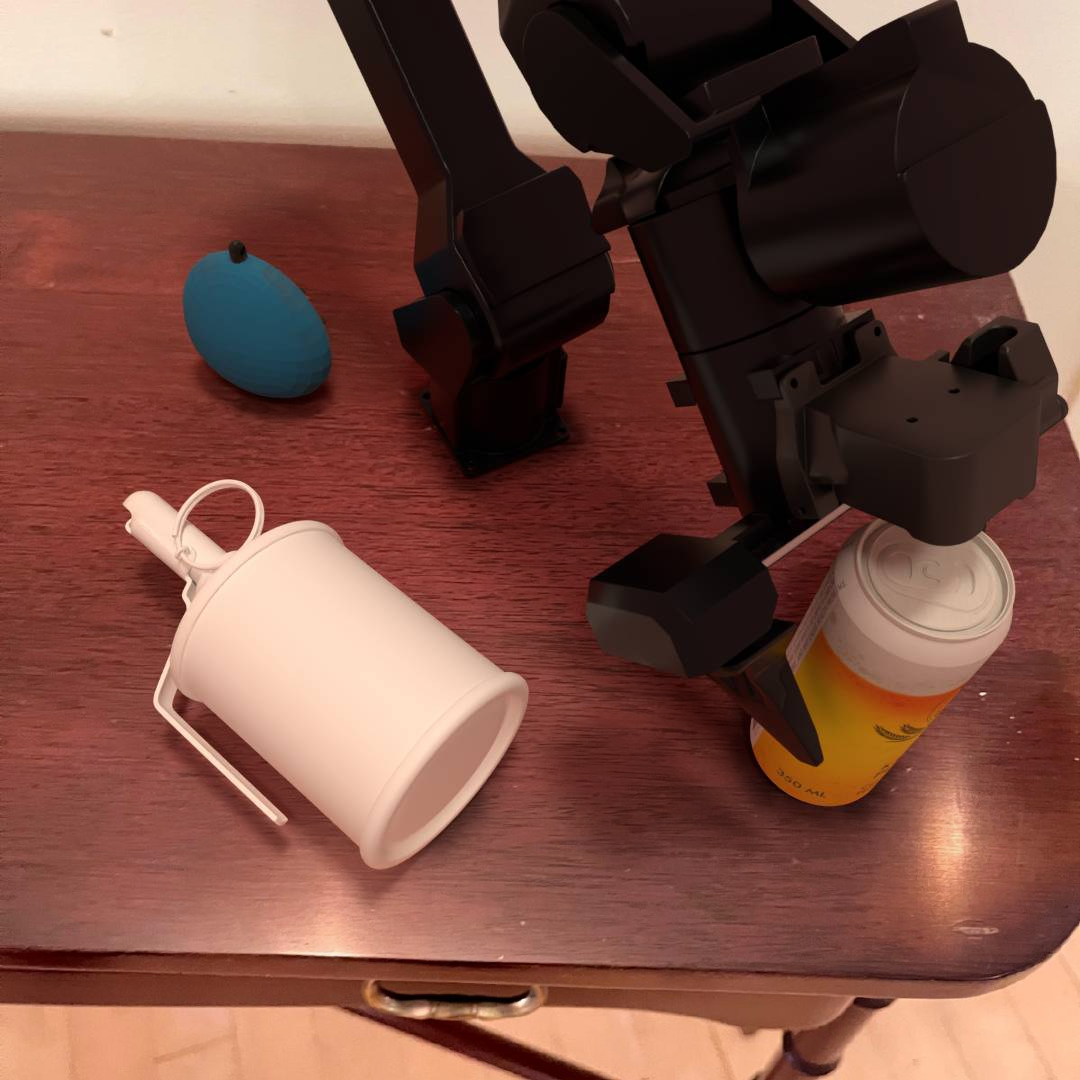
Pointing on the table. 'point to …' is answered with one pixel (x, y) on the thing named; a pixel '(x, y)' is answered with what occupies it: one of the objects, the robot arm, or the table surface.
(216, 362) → the ornament
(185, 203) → the table surface
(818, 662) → the beer can
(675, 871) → the table surface
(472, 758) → the white smoke grenade
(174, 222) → the table surface
